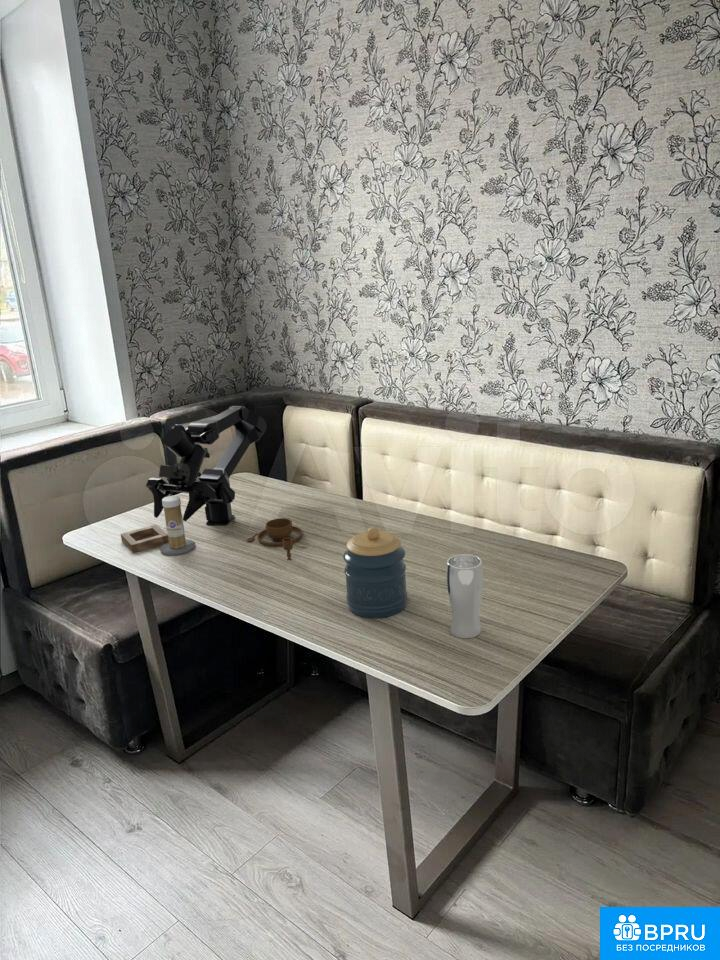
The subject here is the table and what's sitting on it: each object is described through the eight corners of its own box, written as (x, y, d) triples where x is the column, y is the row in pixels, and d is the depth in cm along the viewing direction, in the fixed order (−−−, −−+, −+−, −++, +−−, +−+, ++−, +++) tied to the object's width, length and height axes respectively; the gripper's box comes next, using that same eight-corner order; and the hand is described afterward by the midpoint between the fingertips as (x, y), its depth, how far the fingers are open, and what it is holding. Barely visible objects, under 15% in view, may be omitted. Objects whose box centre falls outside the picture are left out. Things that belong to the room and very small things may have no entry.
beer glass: (480, 620, 148) (479, 552, 143) (486, 638, 141) (486, 567, 136) (445, 623, 148) (443, 554, 143) (450, 641, 141) (448, 570, 136)
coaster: (200, 541, 197) (200, 539, 196) (187, 555, 188) (187, 553, 188) (168, 541, 198) (168, 539, 198) (154, 555, 190) (154, 553, 190)
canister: (372, 585, 166) (367, 512, 160) (419, 599, 158) (416, 523, 152) (334, 608, 156) (328, 532, 151) (382, 625, 148) (377, 545, 143)
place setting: (319, 532, 198) (317, 512, 197) (295, 564, 180) (292, 542, 178) (259, 530, 203) (256, 510, 201) (229, 561, 185) (226, 539, 183)
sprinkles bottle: (169, 550, 190) (161, 502, 186) (169, 543, 195) (161, 496, 190) (187, 547, 191) (179, 499, 187) (186, 541, 196) (179, 493, 191)
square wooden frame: (157, 531, 205) (156, 524, 205) (169, 542, 197) (168, 534, 197) (121, 541, 200) (120, 533, 200) (133, 552, 192) (131, 545, 192)
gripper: (144, 448, 192) (122, 502, 186) (203, 452, 184) (182, 509, 179) (168, 468, 201) (147, 520, 195) (224, 472, 194) (205, 527, 188)
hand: (169, 518), depth 189 cm, fingers open, 9 cm apart
